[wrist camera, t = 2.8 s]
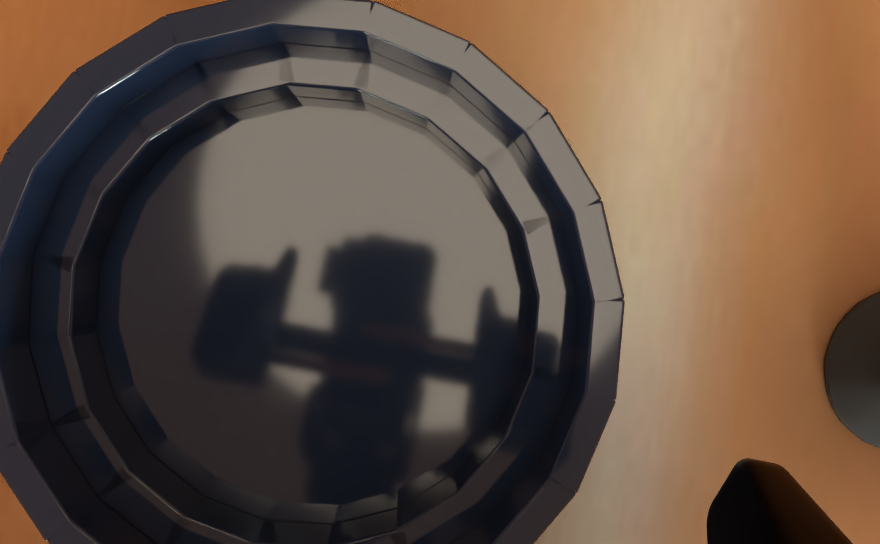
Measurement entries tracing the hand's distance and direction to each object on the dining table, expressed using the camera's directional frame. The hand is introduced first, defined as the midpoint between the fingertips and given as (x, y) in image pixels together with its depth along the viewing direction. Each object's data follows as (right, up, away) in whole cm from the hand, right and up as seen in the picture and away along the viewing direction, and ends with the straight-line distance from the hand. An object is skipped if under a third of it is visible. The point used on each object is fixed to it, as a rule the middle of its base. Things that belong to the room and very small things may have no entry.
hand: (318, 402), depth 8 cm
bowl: (-2, 0, +15) cm, 15 cm away
